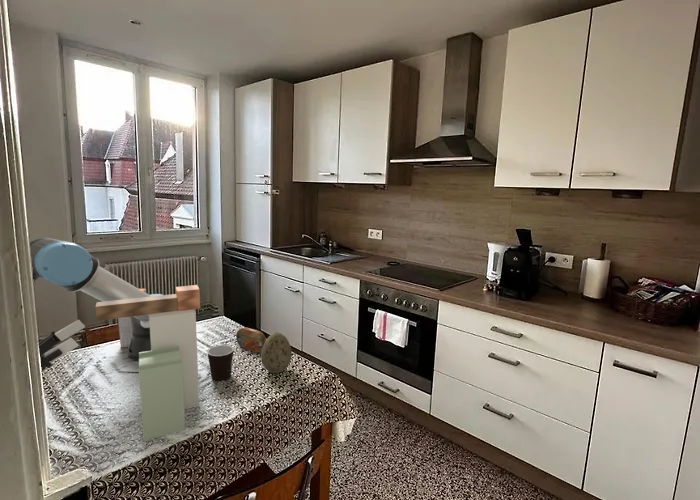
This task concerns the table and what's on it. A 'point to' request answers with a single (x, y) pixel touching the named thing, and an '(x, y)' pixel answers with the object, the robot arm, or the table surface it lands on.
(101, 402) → the table surface
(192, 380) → the tall white pillar
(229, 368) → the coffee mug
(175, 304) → the bar
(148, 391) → the mint green upright block
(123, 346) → the cracker box
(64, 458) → the table surface
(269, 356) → the decorative egg
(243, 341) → the tin
